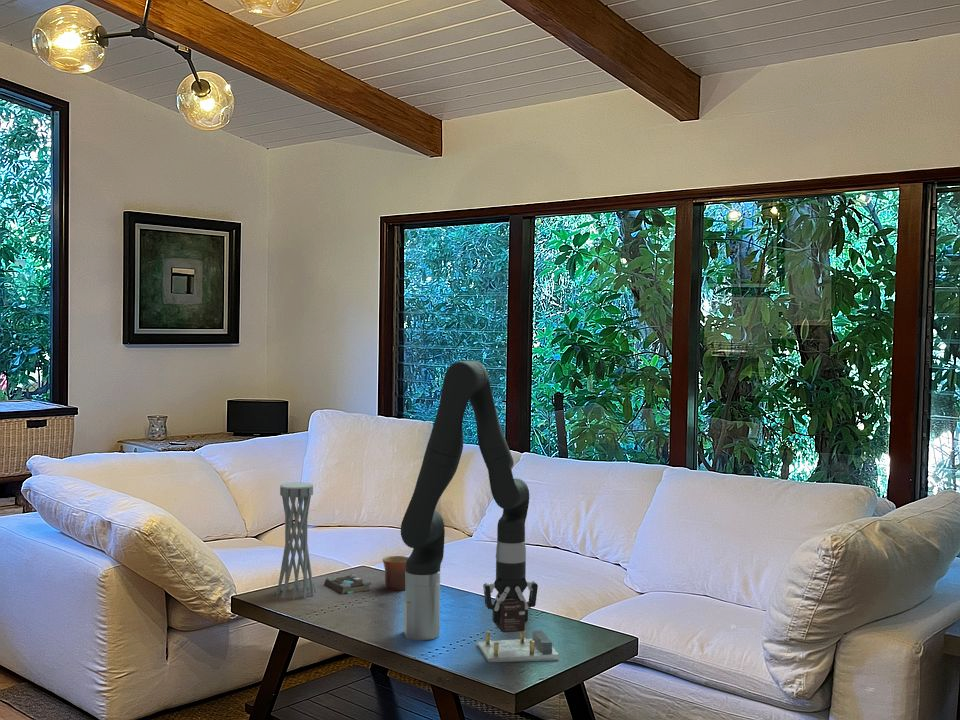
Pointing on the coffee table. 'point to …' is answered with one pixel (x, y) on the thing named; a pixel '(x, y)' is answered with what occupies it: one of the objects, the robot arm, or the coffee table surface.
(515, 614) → the box
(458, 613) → the coffee table surface
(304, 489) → the grey lattice tower
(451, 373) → the robot arm
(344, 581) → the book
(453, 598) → the coffee table surface
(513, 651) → the chassis
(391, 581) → the mug
